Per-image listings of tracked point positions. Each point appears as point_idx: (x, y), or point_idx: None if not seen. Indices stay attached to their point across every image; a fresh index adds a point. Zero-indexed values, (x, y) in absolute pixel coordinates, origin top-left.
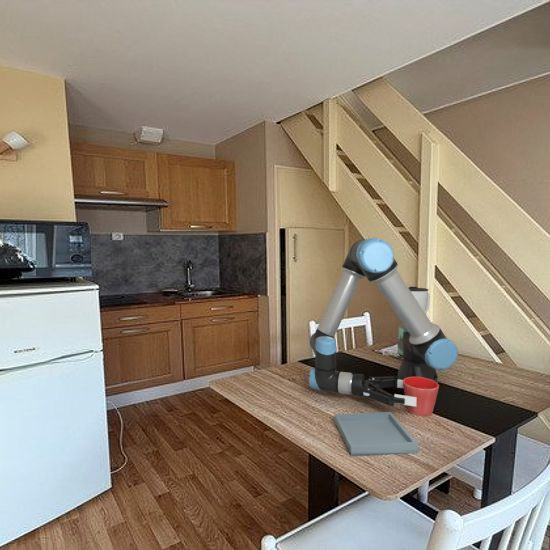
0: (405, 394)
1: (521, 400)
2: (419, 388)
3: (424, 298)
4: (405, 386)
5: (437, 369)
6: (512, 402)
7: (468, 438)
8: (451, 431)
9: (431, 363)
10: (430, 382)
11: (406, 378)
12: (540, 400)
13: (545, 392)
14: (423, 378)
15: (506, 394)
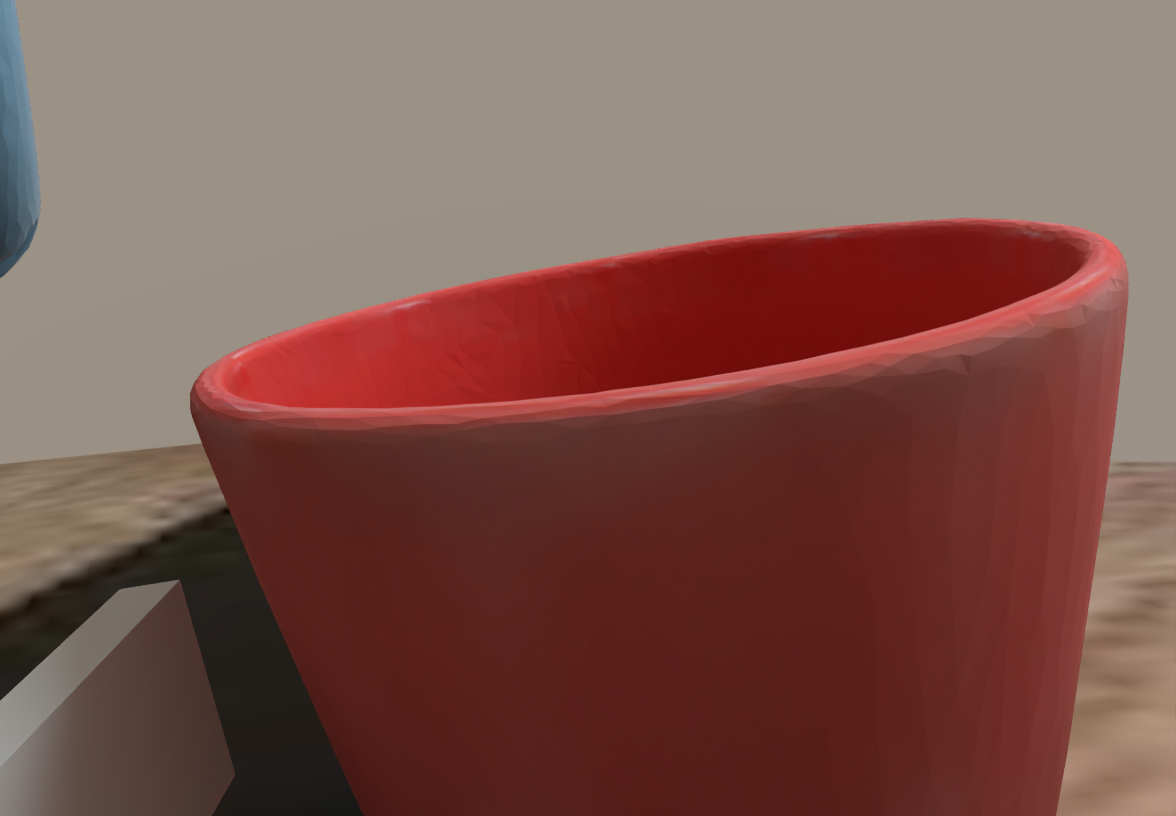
0: (946, 756)
1: (167, 482)
2: (1064, 227)
3: None
4: (1031, 410)
5: (12, 253)
6: (206, 495)
7: (1169, 507)
8: (1160, 587)
9: (15, 75)
10: (401, 357)
11: (386, 413)
12: (167, 453)
13: (38, 460)
14: (282, 353)
15: (43, 524)
